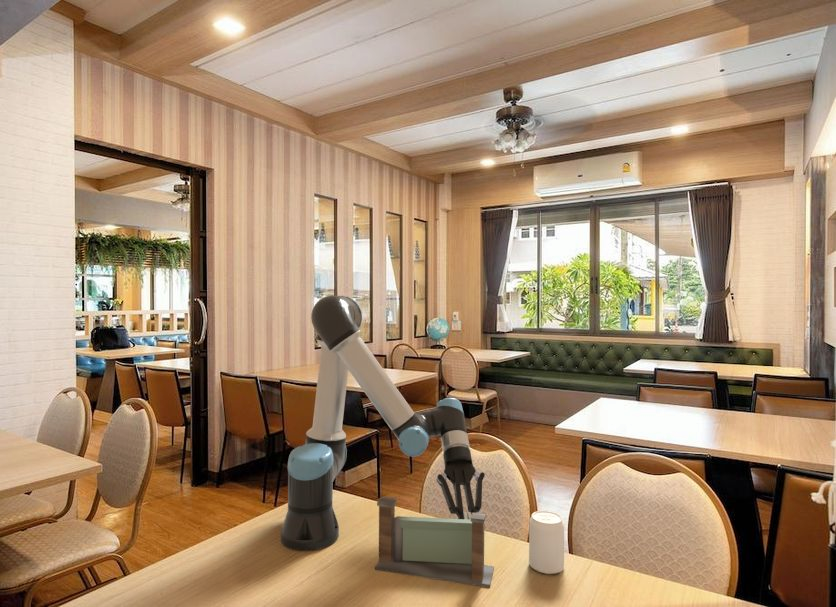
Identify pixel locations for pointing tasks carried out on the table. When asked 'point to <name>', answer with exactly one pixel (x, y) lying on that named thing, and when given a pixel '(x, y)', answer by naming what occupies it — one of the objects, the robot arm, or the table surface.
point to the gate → (433, 540)
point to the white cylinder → (546, 542)
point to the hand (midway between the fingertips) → (470, 541)
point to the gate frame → (435, 570)
